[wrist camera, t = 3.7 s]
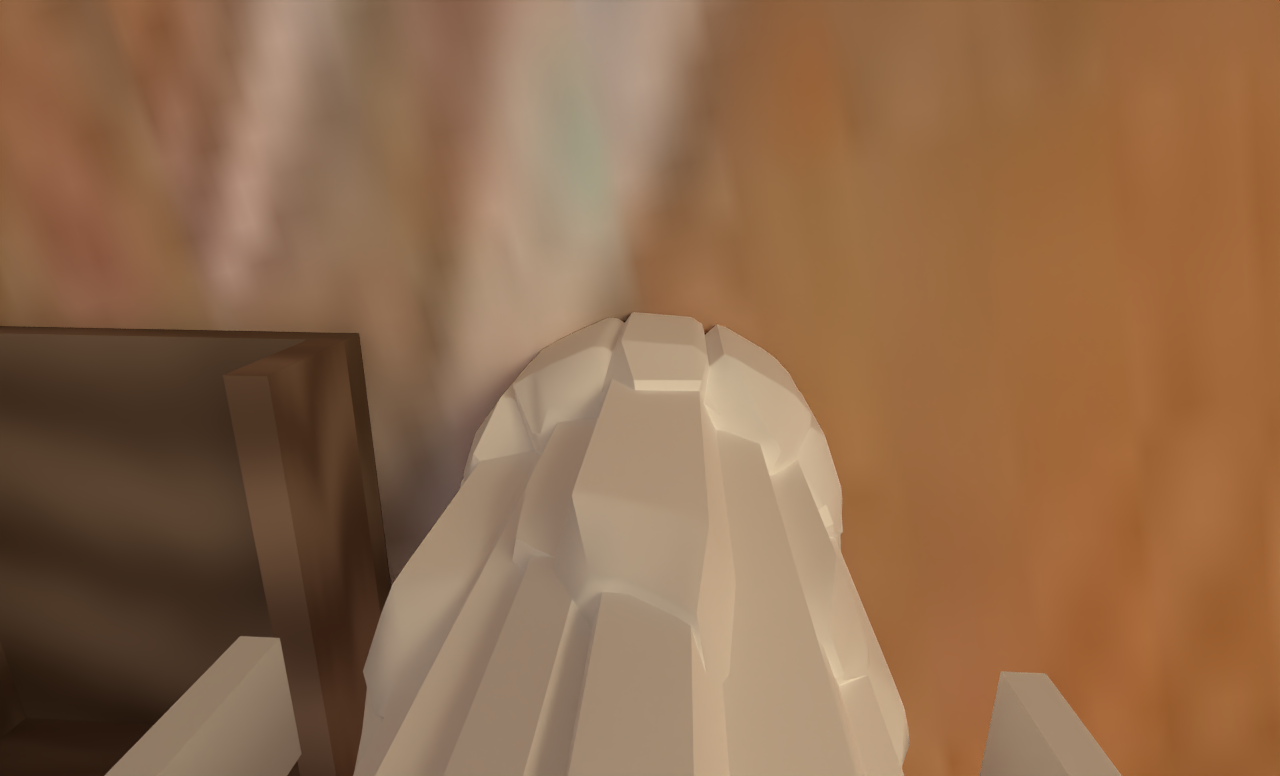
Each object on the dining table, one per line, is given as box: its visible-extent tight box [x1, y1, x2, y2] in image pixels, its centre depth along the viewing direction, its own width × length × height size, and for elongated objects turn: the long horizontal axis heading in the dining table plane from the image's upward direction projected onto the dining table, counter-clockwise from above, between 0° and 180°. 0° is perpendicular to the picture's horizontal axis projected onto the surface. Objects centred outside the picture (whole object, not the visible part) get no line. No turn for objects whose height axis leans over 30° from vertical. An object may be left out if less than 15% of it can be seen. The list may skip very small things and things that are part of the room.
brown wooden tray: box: [0, 326, 391, 776], centre depth 22 cm, size 17×16×5 cm
